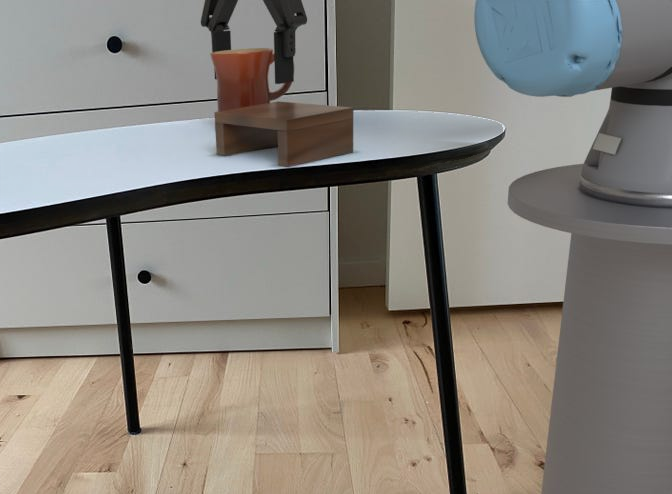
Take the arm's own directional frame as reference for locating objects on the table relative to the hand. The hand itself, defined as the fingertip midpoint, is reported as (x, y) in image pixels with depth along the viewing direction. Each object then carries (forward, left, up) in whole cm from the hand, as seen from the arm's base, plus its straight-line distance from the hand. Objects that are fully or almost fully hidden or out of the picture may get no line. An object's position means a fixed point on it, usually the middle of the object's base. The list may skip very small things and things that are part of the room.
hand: (252, 80), depth 118 cm
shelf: (-21, +13, -6) cm, 25 cm away
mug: (0, 0, -6) cm, 6 cm away
